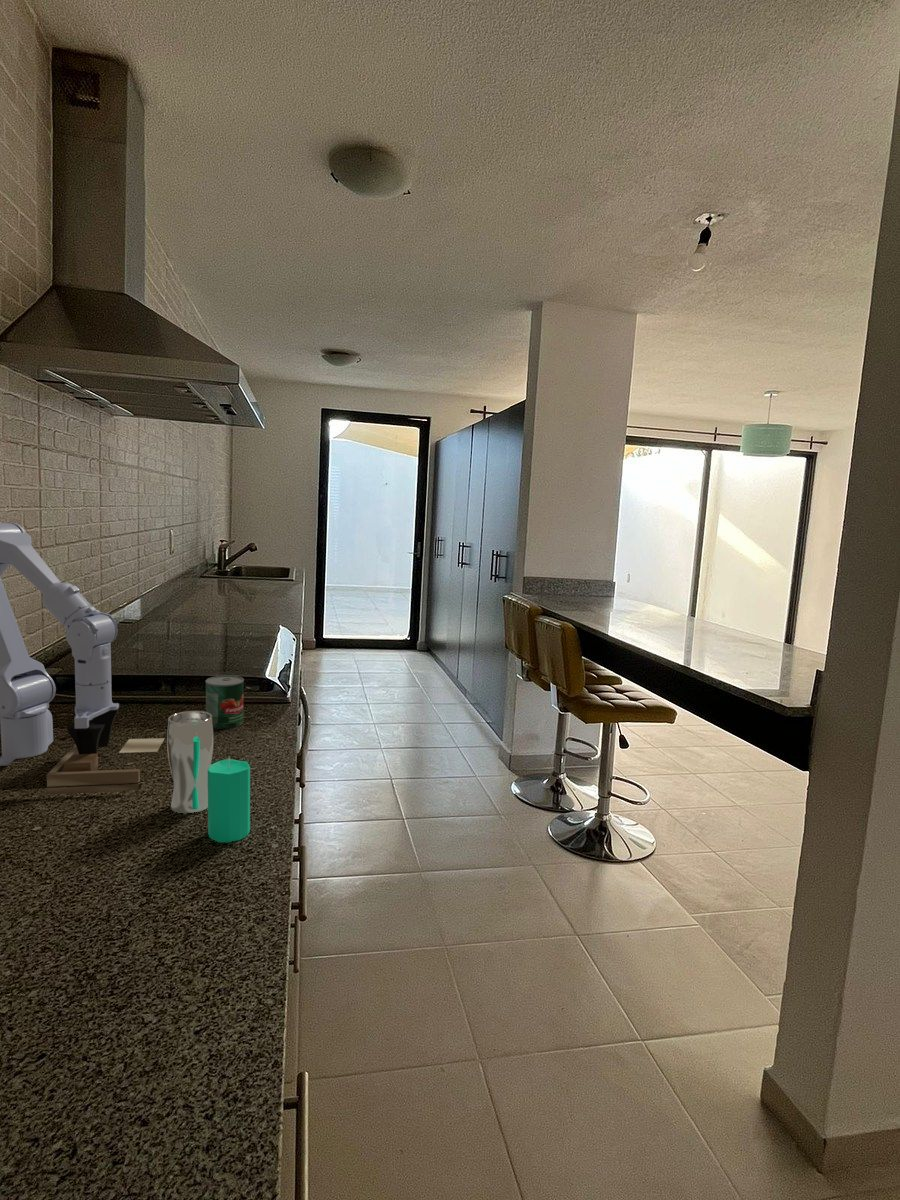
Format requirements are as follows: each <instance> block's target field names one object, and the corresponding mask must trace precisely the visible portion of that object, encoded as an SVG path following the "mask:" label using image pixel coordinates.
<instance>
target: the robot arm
mask: <svg viewBox="0 0 900 1200" xmlns="http://www.w3.org/2000/svg"><path fill="white" fill-rule="evenodd" d="M32 545H33V543H32V536H31V535H30V534H29V533H27V532H26V530H25V529H24V528H23V526H21V525H20V524H19V523H16V522H12V521H9V522H0V739H1V740H0V741H1V742H0V744H1V756H0V767H6V766H7V767H8V766H10V764H11V763H12V762H14V761H15V760H17V759H25V758H26V759H27V758H32V757H36V756H39V755H41V754H44V753H45V752H47V751H48V749H49V746H50V745H51V744H53V742H54V727H53V726H54V725H53V722H54V721H53V715H52V713H51V711H50V710H49V708H50V702H52V701H53V700H54V698H55V696H56V691H57V687H56V683H55V681H54V680H53V678H52V677H51V676H50V675H49V673H48V672H47V670H46V669H45V666H44V664H43V663H42V662H40V661H38V660H36V659H34V658H32V657H31V656H30V655H29V653H28V649H27V646H26V645H25V644H26V643H25V642H24V638H23V636H22V634H21V633H22V632H21V631H20V628H19V626H18V622H17V619H16V616H15V614H14V610H13V608H12V606H11V603H10V600H9V597H8V595H7V592H6V589H5V585H4V584H3V581H2V578H1V577H2V575H3V573H4V572H5V570H7V569H8V568H9V567H10V566H12V567H13V568H14V569H16V571H18V572H19V573H20V575H22V576H23V577H24V578H25V579H26V580H27V581H28V582H30V583H31V584H32V585H33V586H34V587H35V588H36V589H37V590H38V591H39V592H40V593H41V594H42V599H41V601H42V605H43V606H44V607H45V608H46V610H48V611H49V612H50V614H51V615H52V616H53V617H54V618H55V619H56V621H58V622H59V624H60V625H62V626H63V628H64V629H65V630H66V631H67V632H65V633H64V635H65V639H66V642H67V643H68V645H69V646H70V648H71V656H72V657H73V659H74V680H75V681H74V685H75V686H74V688H75V706H74V715H75V717H74V718H73V719H74V720H73V721H74V722H72V723H69V724H68V725H67V726H66V731H67V733H68V734H69V736H70V737H71V738H72V740H73V741H74V744H75V745H76V747H77V750H78V753H79V754H98V750H99V749H98V748H107V747H108V746H109V743H110V739H111V734H112V731H113V726H114V721H115V719H116V717H117V715H118V713H119V711H120V703H118V702H116V703H115V702H113V700H112V697H113V695H112V694H113V693H112V650H111V649H112V647H111V643H113V642H114V641H116V639H117V636H118V632H119V631H118V625H117V622H116V620H115V619H114V618H113V616H112V614H110V613H107V612H102V611H100V610H98V609H96V608H95V606H92V604H91V603H90V601H88V600H87V599H86V598H85V597H84V596H83V595H82V594H81V592H80V590H81V589H80V588H78V586H77V585H73V584H72V583H69V582H68V583H67V582H61V581H60V580H59V578H58V577H57V575H55V573H54V572H53V571H52V569H51V568H50V567H49V566H48V565H47V563H46V561H44V559H43V558H42V557H41V556H40V554H39V553H38V552H37V551H36V550H35V548H34V546H32ZM18 676H20V677H18ZM14 677H17V678H14ZM13 678H14V679H13Z"/></svg>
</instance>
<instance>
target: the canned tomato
mask: <svg viewBox="0 0 900 1200" xmlns="http://www.w3.org/2000/svg"><path fill="white" fill-rule="evenodd" d="M244 681H245V679H244V678H243V677H241V676H238V675H216V676H212V677H208V678H207V679H206V680H205V712H208V713H210V714H211V715H212V724H213V729H219V730H220V729H222V730H223V729H232V728H236V727H239V726H241V725H242V724H243V723H244V707H245V706H244V696H245V695H244V692H245V691H244V689H245V688H244Z"/></svg>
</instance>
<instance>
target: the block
mask: <svg viewBox="0 0 900 1200" xmlns="http://www.w3.org/2000/svg"><path fill="white" fill-rule="evenodd" d="M75 771H99V754H98V753H97V754H73V755H72V756H71V757H70V758H69V759H68V760H67V761H66V762H65V772H75Z"/></svg>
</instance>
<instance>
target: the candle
mask: <svg viewBox="0 0 900 1200" xmlns="http://www.w3.org/2000/svg"><path fill="white" fill-rule="evenodd" d="M250 831H251V765H250V764H249V763H248V761H246V760H244V761H243V760H238V759H232V758H231V757H230V756H228V758H227V759H222V760H217V761H216V762H214V763H211V765H210V767H209V768H208V808H207V836H208V835H209V836H208V838H209V839H210V838H211V839H213V840H215V841H214V842H216V841H217V843H232V841H233V842H237V841H241V840H243V839H244V838H246V837H247V836H248V835H249V834H250ZM211 839H210V840H211ZM213 840H212V841H213Z"/></svg>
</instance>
